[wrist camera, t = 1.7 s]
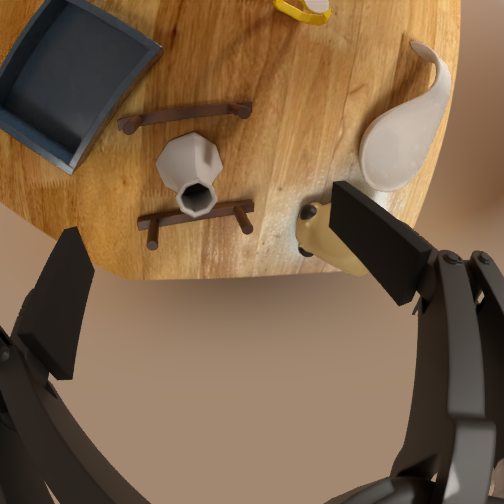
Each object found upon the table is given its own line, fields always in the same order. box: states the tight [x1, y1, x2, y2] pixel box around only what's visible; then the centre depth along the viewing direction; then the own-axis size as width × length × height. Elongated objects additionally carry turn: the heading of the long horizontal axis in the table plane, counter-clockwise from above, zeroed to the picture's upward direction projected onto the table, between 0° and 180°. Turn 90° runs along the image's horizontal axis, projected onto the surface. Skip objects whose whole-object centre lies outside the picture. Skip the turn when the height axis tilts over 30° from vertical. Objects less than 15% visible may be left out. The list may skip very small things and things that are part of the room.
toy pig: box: [296, 202, 369, 277], centre depth 35 cm, size 10×12×11 cm
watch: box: [272, 0, 331, 25], centre depth 19 cm, size 6×3×6 cm, turn 66°
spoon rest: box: [359, 41, 452, 192], centre depth 28 cm, size 24×12×7 cm, turn 160°
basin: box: [0, 0, 164, 175], centre depth 17 cm, size 15×15×5 cm
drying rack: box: [117, 101, 254, 250], centre depth 27 cm, size 14×13×6 cm
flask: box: [155, 132, 223, 218], centre depth 25 cm, size 7×7×10 cm
